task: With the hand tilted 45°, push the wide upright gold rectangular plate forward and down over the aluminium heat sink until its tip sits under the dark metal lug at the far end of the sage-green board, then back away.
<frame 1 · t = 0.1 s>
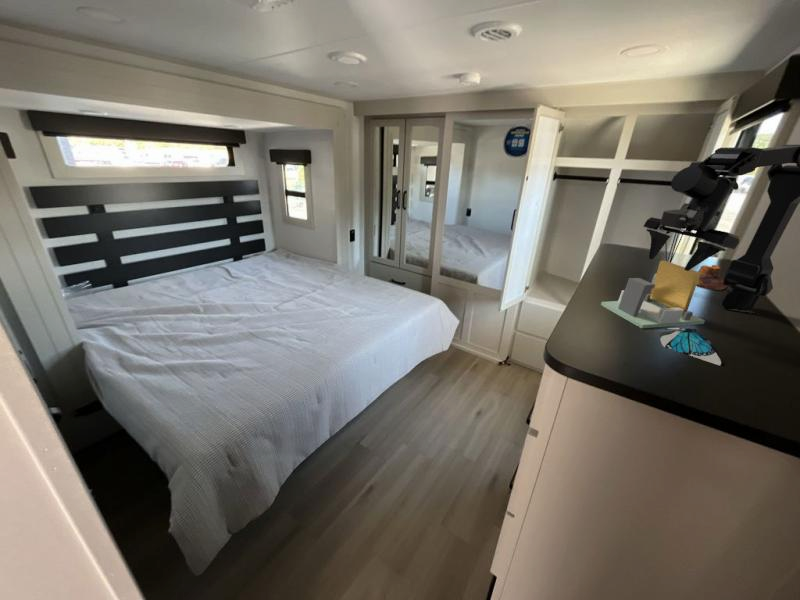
hand: (667, 264, 81), 15 cm above the table, tool pointing down, fingers open, 9 cm apart
decorative butterfly: (684, 349, 74), on the table
bell: (703, 285, 114), on the table
heat sink board: (663, 312, 90), on the table
gold rectangular plate: (672, 288, 87), point 8 cm above the table, hinge at 8.0°
reed diffuser: (655, 287, 110), on the table
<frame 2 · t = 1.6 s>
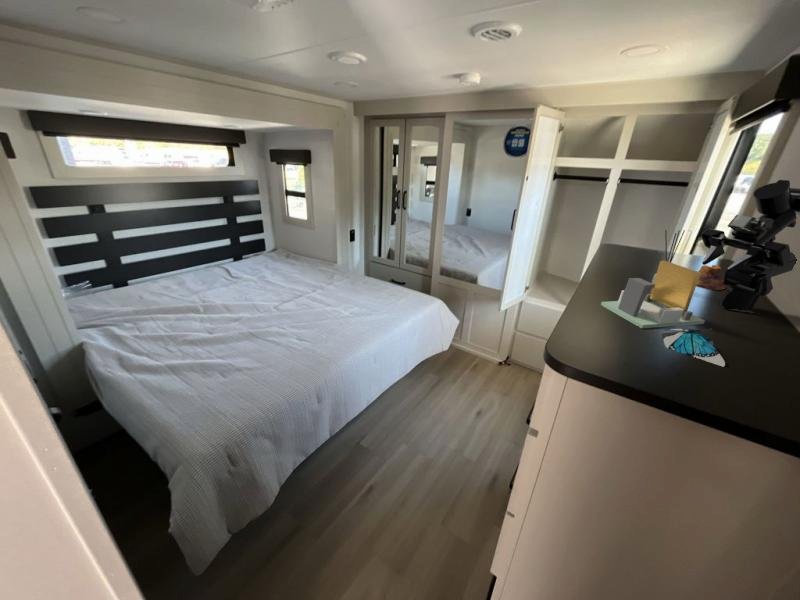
hand: (714, 267, 87), 14 cm above the table, tool tilted 45°, fingers open, 6 cm apart
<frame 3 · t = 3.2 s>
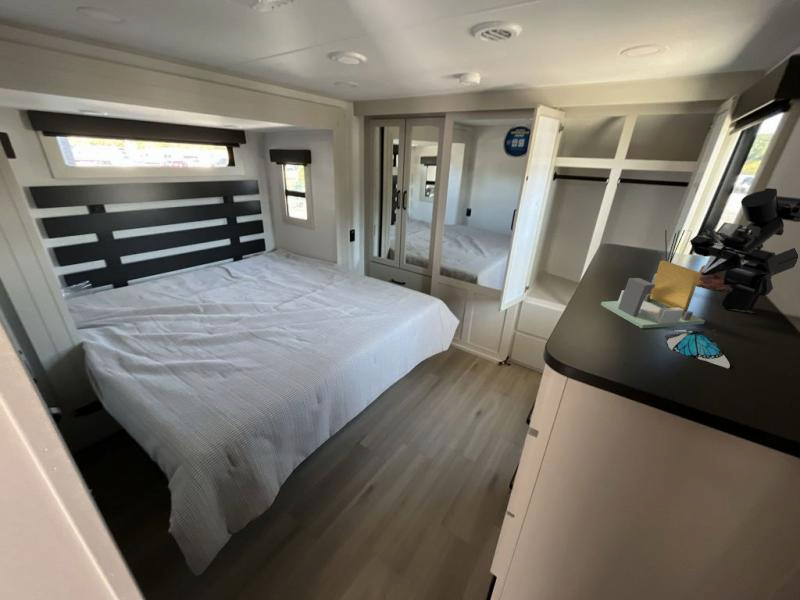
hand: (703, 274, 87), 12 cm above the table, tool tilted 45°, fingers closed
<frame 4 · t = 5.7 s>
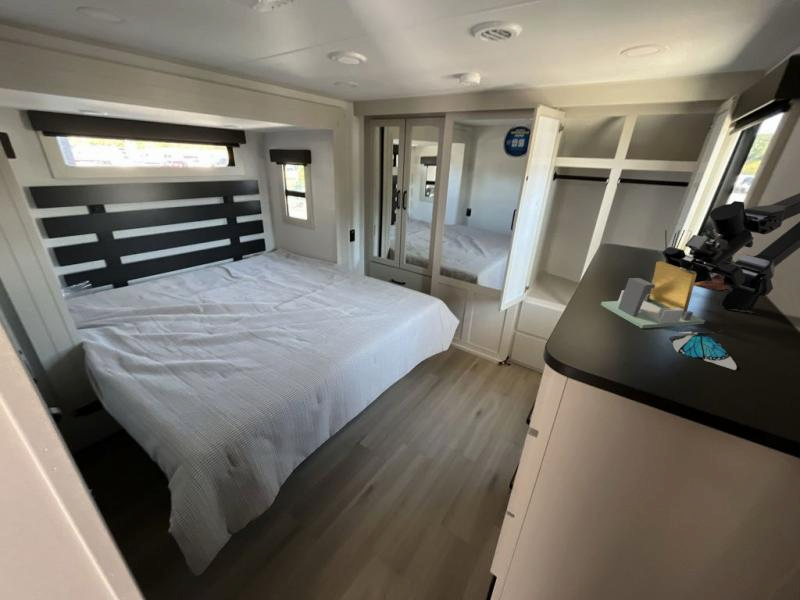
hand: (673, 286, 87), 8 cm above the table, tool tilted 45°, fingers closed, pressing on gold rectangular plate
gold rectangular plate: (670, 288, 87), point 8 cm above the table, hinge at 13.6°, touching gripper
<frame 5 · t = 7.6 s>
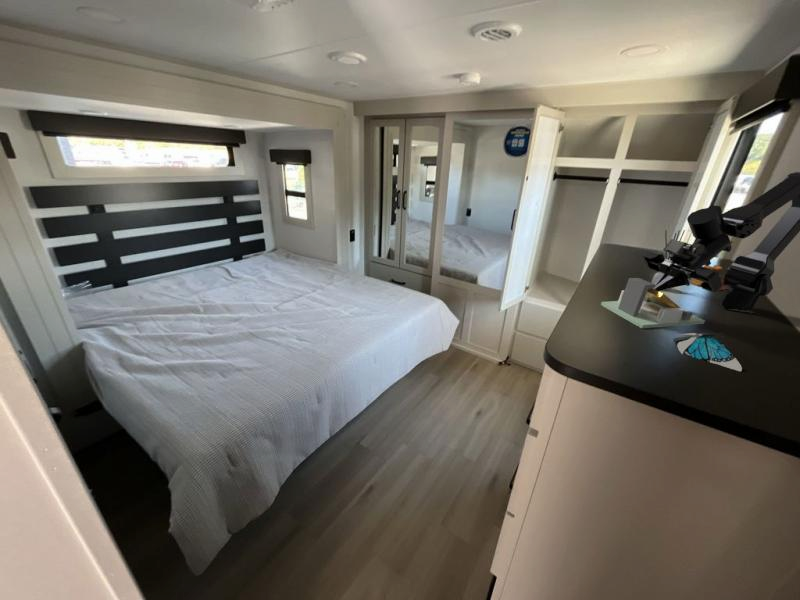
hand: (652, 290, 86), 7 cm above the table, tool tilted 45°, fingers closed, pressing on gold rectangular plate
gold rectangular plate: (656, 297, 87), point 5 cm above the table, hinge at 59.6°, touching gripper
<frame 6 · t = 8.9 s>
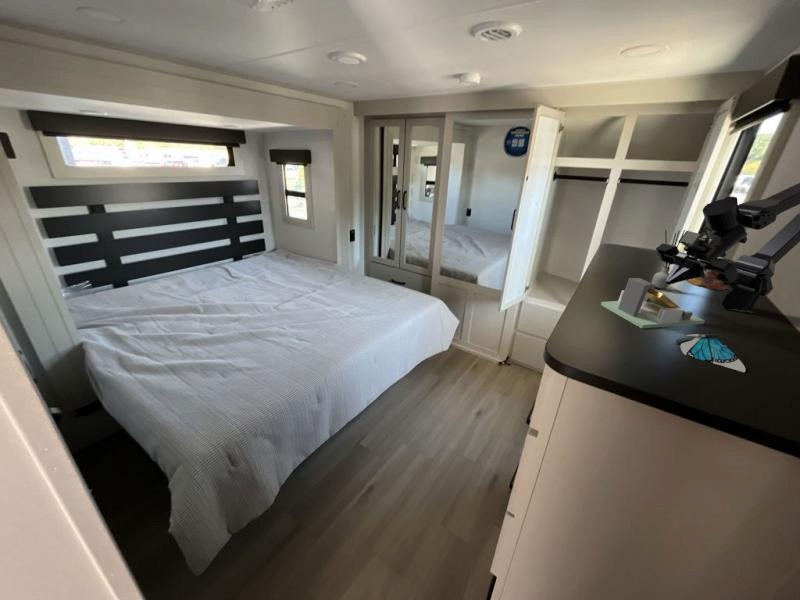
hand: (666, 283, 86), 9 cm above the table, tool tilted 45°, fingers closed
gold rectangular plate: (656, 297, 87), point 5 cm above the table, hinge at 60.3°
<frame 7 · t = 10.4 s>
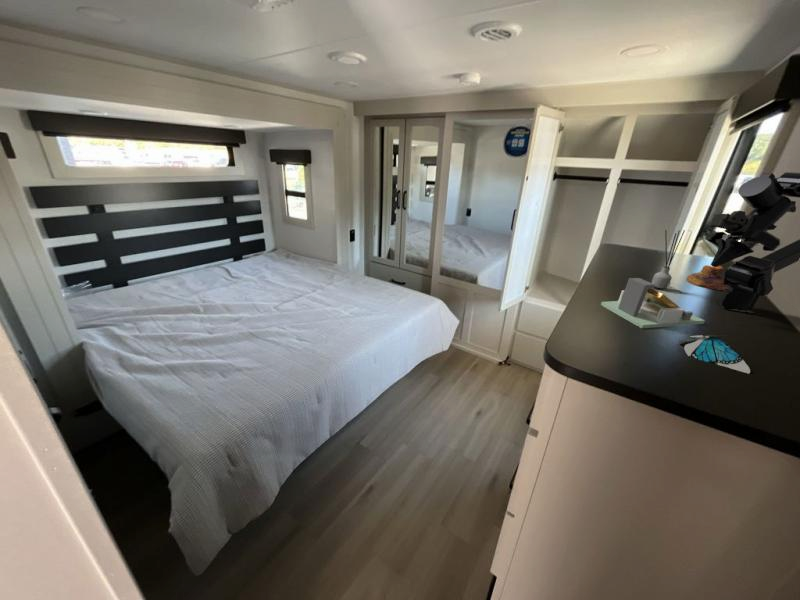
hand: (713, 266, 88), 14 cm above the table, tool tilted 30°, fingers closed
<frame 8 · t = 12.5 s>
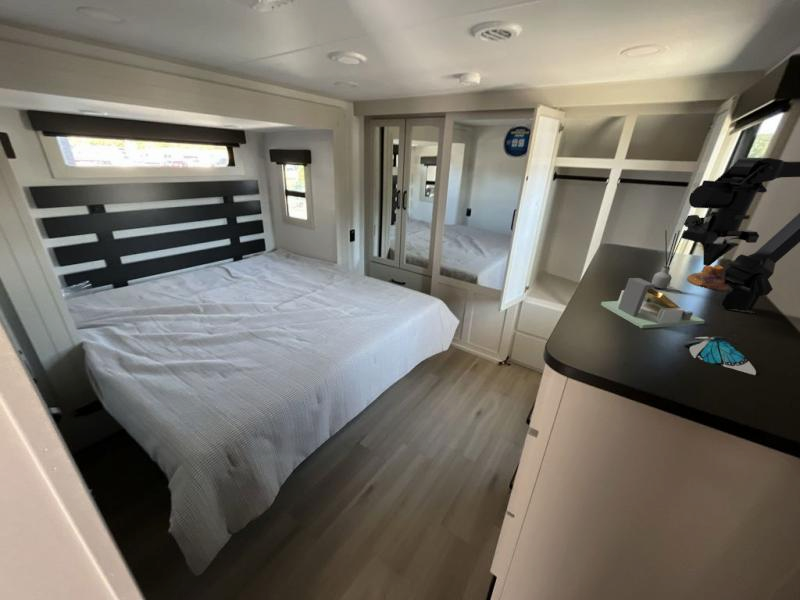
hand: (706, 265, 90), 13 cm above the table, tool pointing down, fingers closed
at the end: gold rectangular plate at +60° (first picture: +8°); the gripper is holding nothing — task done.
